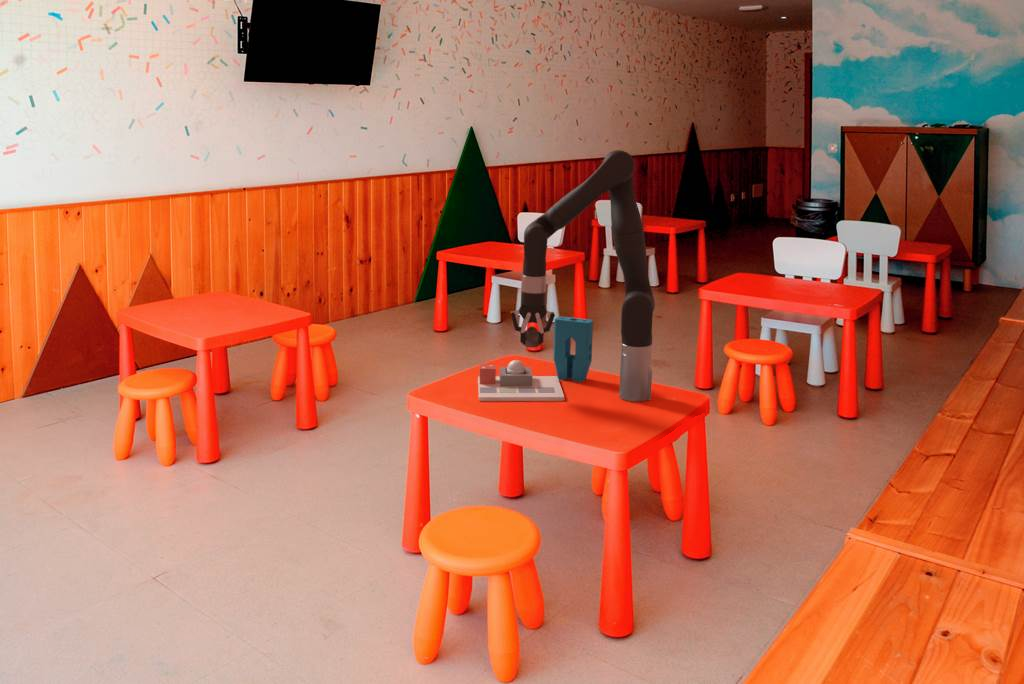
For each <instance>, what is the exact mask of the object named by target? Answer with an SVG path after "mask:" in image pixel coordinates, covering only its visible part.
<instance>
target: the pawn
mask: <svg viewBox="0 0 1024 684" xmlns="http://www.w3.org/2000/svg"><path fill="white" fill-rule="evenodd" d="M526 329H527V330H526ZM526 329H525V345H524V347H526V348H538V347H540V345H539V330H538V329H537V327H535V326H529V327H528V328H526Z"/></svg>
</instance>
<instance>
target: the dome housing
mask: <svg viewBox="0 0 1024 684" xmlns="http://www.w3.org/2000/svg"><path fill="white" fill-rule="evenodd" d="M507 367H508V366H499V371H498V373H499V375H498V376H499V378H500V386H532V376H533V372H532V367H531V366H524V368H525V370H524V374H507Z"/></svg>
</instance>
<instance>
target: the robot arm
mask: <svg viewBox="0 0 1024 684" xmlns="http://www.w3.org/2000/svg"><path fill="white" fill-rule="evenodd" d="M635 165H636V164H635V160H634V158H633V157H632V155H631V153H628V152H627V151H624V150H621V149H618V150H616V149H615V150H612V151H610V152H609V153H608V154H606V155H605V157H604V158H603V161H602V163H601V164H600V166H599V167H598V168H597V169H596V170H595V171H594V172H593V173H592V174H591V175H590V176H589V177H588V178H587V179H586V180H584V181H583V182H582V183H581V184H579V185H578V186H577V187H575V188H573V189H572V190H570V191H569V192H568V193H566V195H564V196H563V197H561V198H560V199H559V200H558V201H556V202H555V204H553V205H552V206H550V208H549V209H548V210H547V211H545V213H543V214H542V215H540V216H539V217H537V218H536V219H534V220H533V221H531V223H530V224H528V225H527V226H526V228H525V229H524V233H523V255H524V256H523V262H522V278H521V284H520V285H521V287H520V289H521V290H520V307H519V309H517V310H511V311H510V315H511V316H510V317H511V320H512V324H513V327H514V330H515V331H516V332H518V333H519V334H520V336H519V337H520V339H519V341H520V343H521V344H522V346H523V345H524V346H525V331H526V329H527V326H528V325H529V324H530V323H531V324H532V323H533V324H537V326H538V327H537V328H538V331H539V346H541V344H543V343H544V335H545V333H546V332H550V330H551V329H552V325H553V322H554V321H555V317H556V314H555V312H554V311H549V310H547V307H546V302H547V301H546V299H547V297H546V296H547V258H546V257H547V250H548V249H547V248H548V247H547V246H548V240H549V239H550V238H551V237H552V236H553V235H554V234H555V233H557V231H559V230H562V229H564V228H565V227H566V226H567V225H569V224H570V223H571V222H572V221H574V220H575V219H576V218H577V217H578V216H579V215H580V214H581V213H583V212H584V211H585V210H586V209H587V208H588V207H589V206H591V205H592V204H593V202H595V201H596V200H598V199H599V197H601V196H603V195H604V194H605V193H606V192H608V194H609V198H610V201H609V202H610V220H611V221H610V223H611V232H612V238H613V239H612V240H613V246H614V251H615V255H616V257H617V261H618V263H619V266H620V268H621V271H622V275H623V281H624V292H625V293H624V294H625V295H624V297H625V298H624V300H623V302H622V307H621V316H620V317H621V319H620V321H621V322H620V335H621V344H620V345H621V347H620V349H621V350H620V366H619V367H620V370H619V390H618V392H619V394H618V398H620V399H622V400H625V401H628V402H645V401H651V398H652V381H653V380H652V379H653V369H652V367H651V366H652V353H653V351H652V350H653V349H652V348H653V315H654V310H655V308H656V307H655V306H656V303H655V297H654V293H653V291H652V287H651V282H650V279H649V273H648V259H647V249H646V247H647V246H646V238H645V237H646V236H645V231H644V224H643V220H642V217H641V213H640V210H639V206H638V203H637V199H636V196H635V188H634V172H635ZM519 315H520V316H521V318H522V322H521V323H522V324H521V326H519V324H518V321H517V319H518V318H519ZM545 316H546V318H547V321H546V324H545V326H543V324H542V320H543V318H545Z"/></svg>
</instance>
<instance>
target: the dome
mask: <svg viewBox="0 0 1024 684" xmlns="http://www.w3.org/2000/svg"><path fill="white" fill-rule="evenodd" d="M506 367H507V374H524V370H525V368H524V367H525V366H524V364H523V362H522V361H521V360H518V359H513V360H511V361H510V362H509V363H508V365H507V366H506Z"/></svg>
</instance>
